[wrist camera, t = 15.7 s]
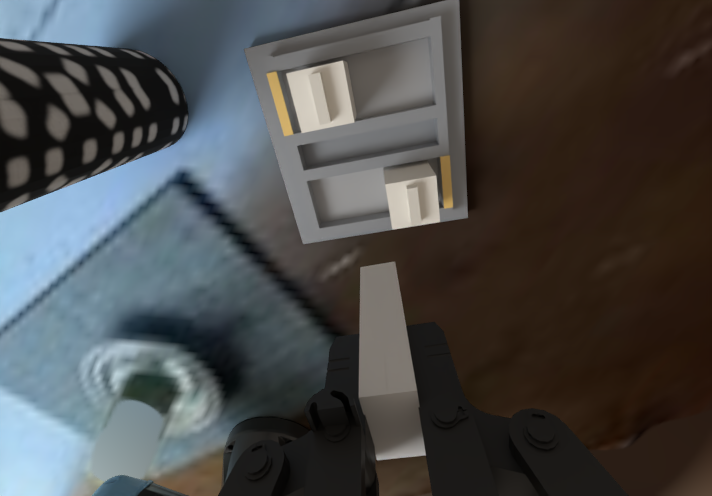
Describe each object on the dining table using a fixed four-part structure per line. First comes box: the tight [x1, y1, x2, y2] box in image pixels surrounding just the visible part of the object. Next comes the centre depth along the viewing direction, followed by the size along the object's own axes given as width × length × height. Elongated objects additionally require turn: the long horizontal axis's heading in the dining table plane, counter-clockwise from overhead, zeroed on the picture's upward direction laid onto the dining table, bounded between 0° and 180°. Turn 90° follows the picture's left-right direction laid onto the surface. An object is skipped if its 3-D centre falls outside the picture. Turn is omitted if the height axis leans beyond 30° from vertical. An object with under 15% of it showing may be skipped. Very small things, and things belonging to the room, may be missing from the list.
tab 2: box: [383, 160, 440, 230], centre depth 29 cm, size 4×4×6 cm
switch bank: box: [244, 0, 468, 244], centre depth 30 cm, size 17×18×3 cm
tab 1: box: [286, 61, 357, 133], centre depth 25 cm, size 4×4×6 cm
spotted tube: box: [0, 38, 188, 212], centre depth 21 cm, size 8×8×20 cm
